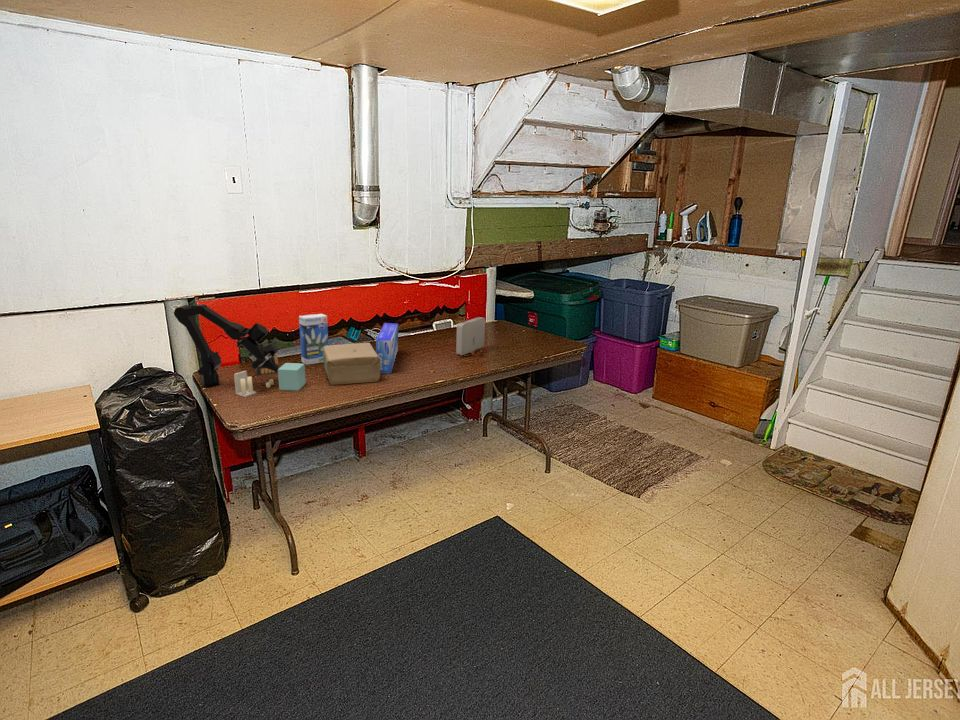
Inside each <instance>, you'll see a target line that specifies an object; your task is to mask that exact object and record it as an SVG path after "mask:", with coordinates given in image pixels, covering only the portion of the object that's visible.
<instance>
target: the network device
mask: <svg viewBox="0 0 960 720" xmlns="http://www.w3.org/2000/svg"><path fill="white" fill-rule="evenodd" d="M485 335H486V318H485V317H480V316H479V317H474V318H472V319H469V320H465V321H462V322H459V323H457V325H456V339H455V340H456V341H455V343H456V347H455V349H456V350H455V352H456V353H455V354H456V355H457V354H460V355H464V356H465V355H467V354H468V353H469V352H472V351H474V352H475V351H477V350H476V349H481V348H483V347H484V346H485V339H486V337H485Z"/></svg>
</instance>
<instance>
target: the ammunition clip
mask: <svg viewBox="0 0 960 720" xmlns="http://www.w3.org/2000/svg"><path fill="white" fill-rule="evenodd" d="M277 353H278V352H276V353H275V354H274V355H275V356H274V361H275V363H276V365H277V366H278V368H280V367H279V359H278V354H277ZM261 366H262V363H261V364H260V365H259V366H258V368H257V369H255V372H256V376H259V375H260V376H261V375H266V374H267V375H269V374H275V373H276V374H277V372H276V371H273V370H270V369H267V368H264V367H261Z"/></svg>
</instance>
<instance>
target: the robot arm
mask: <svg viewBox="0 0 960 720" xmlns="http://www.w3.org/2000/svg"><path fill="white" fill-rule="evenodd" d="M173 315H174V318H175V319H176V320H177V321H178V323H180V324H181V325H183V326H184V327H185V329H186V331H187V332H188V334H189V336H190V338H191V339H192V342H193V343H194V345H195V347H196V349H197V350H198V352H199V355H200V362H201V367H200V368H199V369H198V370H197V374H198V375H200V377H201V383H200V385H202V386H203V387H204V388H211V387H214V386H215V387H216V386H220V377H219V376H220V375H219V374H218V372H217V370H219V368H220V367H221V365H222V362H223V361H222V357H221V356H220V354H219V351H213V350H212V349H211V347H210V346H209V343H208V342H207V340H206V338H205V337H204V334H203V333H202V330H201V329H200V327H199V325H198V323H197V316H196V315H199V316H200V315H201V316H202V317H204V318H205V319H207V320H208V321H210V323H211V322H212V323H213V324H214V325H216V326H217V327H219V328H220V329H222V330H223V332H224V333H225V335H226V336H228V337H229V338H230V339H231V340H234V341H236V347H237V348H240V347H243V349H245V350H246V351H248V353H249V354H248V355H249V356H250V357H251V356H253V357H254V359H255V361H253V362H252V363H251V365H250V366H251V369H253V370H254V371H256V369H257V368H258V366H259V365H260V364H261V363H262V366H261V367H264V368H267V369H270V370H271V371H272V370H273V371H276V373H278V369H279V368H280V367H279V365H278V366H277V365H276V363H275V361H274V356H275V355H274V354H275V353H278V351H279V350H278V347H277V342H276V341H275V340H273V339H269V340H268V341H267V344H263V343H259V342H260V341H262V340H263V339H264V338H265V336H266V335H268V333H269V330H268V328H267V327H266V326H264V325H262V324H260V323H258V322H256V323H254V324H253V325H252V327H245V326H244V325H241V324H240V323H238V322H234V321H232V320H229V319H228V318H225V317H224V316H222V315H221V314H219V313H218V312H216V311H215V310H214V309H211V308H210V307H209V306H208V305H207V304H204V303H203V304H202V303H201V304H196V305H195V304H194V305H189V304H184V305H180V306H178V307H175V309H174V311H173ZM239 339H240V340H239ZM278 367H279V368H278Z"/></svg>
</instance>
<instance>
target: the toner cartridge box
mask: <svg viewBox="0 0 960 720" xmlns="http://www.w3.org/2000/svg"><path fill="white" fill-rule="evenodd" d="M398 351H399V323H391V322H385V323H383V326H382V328H381V329H380V331H379V333H378V335H377V337H376V340H375V352H376V353H377V355H378V357H379V358H380V374H392V372H393V369H394V366H393V365H395V363H394V362H396V360H397V357H396V355H397V356H398V354H397V352H398ZM398 353H399V352H398ZM395 359H396V360H395Z"/></svg>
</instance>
